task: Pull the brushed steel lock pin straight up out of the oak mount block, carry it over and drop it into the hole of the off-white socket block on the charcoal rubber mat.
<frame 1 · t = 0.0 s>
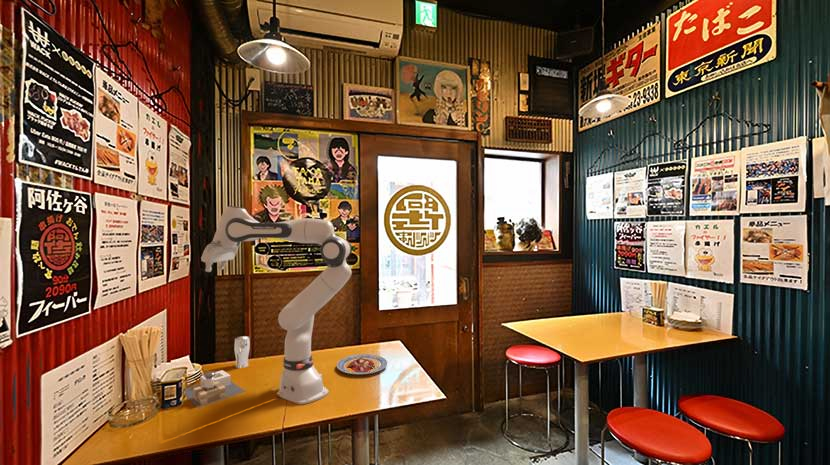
hand: (214, 270, 149), 52 cm above the table, tool tilted 20°, fingers open, 8 cm apart
mount block: (209, 392, 138), on the rubber mat, point 3 cm above the table
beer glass: (241, 367, 171), on the table
ceramic plate: (362, 367, 174), on the table
socket block: (215, 384, 150), resting on rubber mat
steel pin: (209, 385, 138), in the mount block, point 6 cm above the table, touching rubber mat
rubber mat: (212, 393, 144), on the table
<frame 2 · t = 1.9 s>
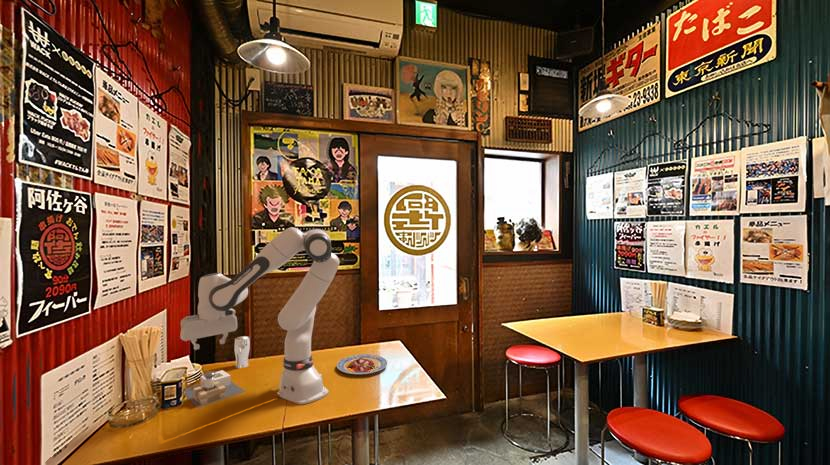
hand: (209, 346, 138), 22 cm above the table, tool pointing down, fingers open, 8 cm apart
nothing on the table moved.
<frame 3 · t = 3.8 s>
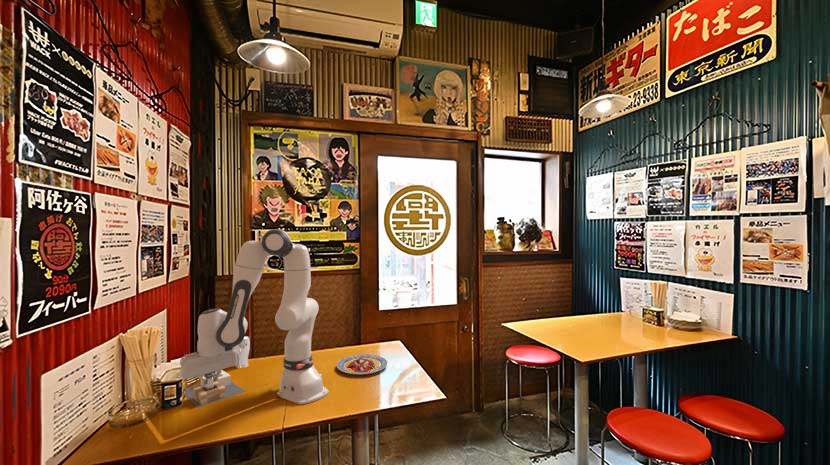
hand: (209, 382, 138), 7 cm above the table, tool pointing down, fingers closed on steel pin, 3 cm apart
steel pin: (209, 385, 138), in the mount block, point 6 cm above the table, touching gripper, rubber mat
everything else where it was.
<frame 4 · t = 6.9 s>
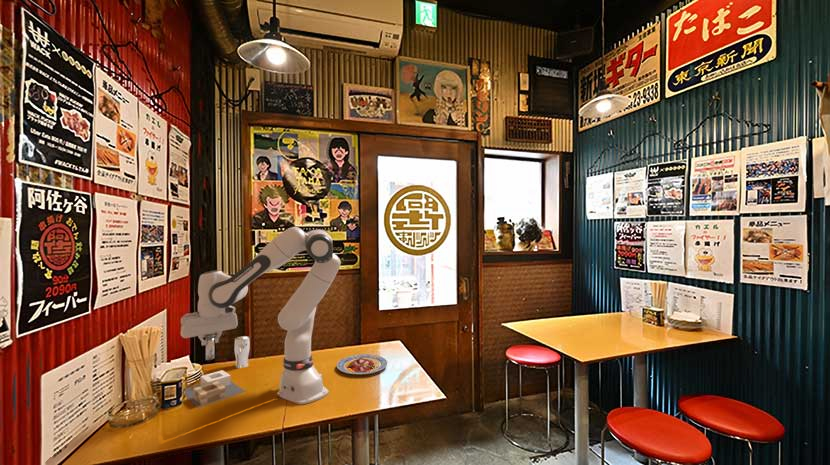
hand: (210, 343, 138), 23 cm above the table, tool pointing down, fingers closed on steel pin, 3 cm apart
steel pin: (210, 346, 138), point 22 cm above the table, touching gripper
everything else where it was.
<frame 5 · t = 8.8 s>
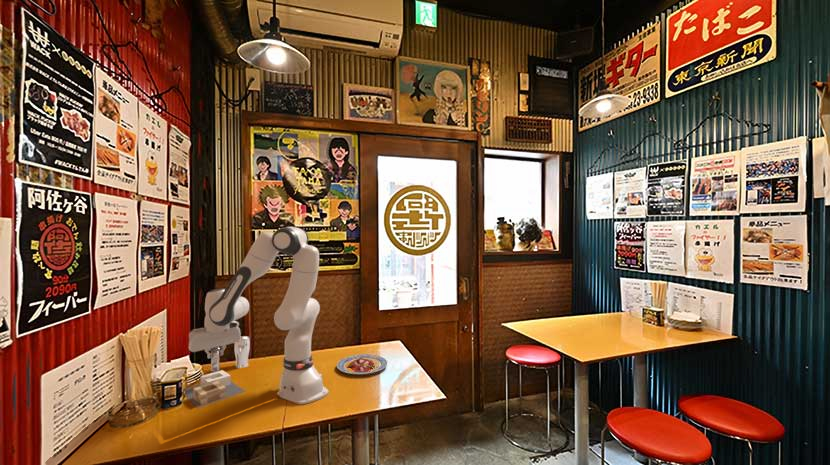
hand: (215, 356, 150), 14 cm above the table, tool pointing down, fingers closed on steel pin, 3 cm apart
steel pin: (215, 358, 150), point 12 cm above the table, touching gripper
everything else where it was.
when the fingers open (9 cm above the table, at t = 10.2 s): steel pin stays where it is, resting on rubber mat.
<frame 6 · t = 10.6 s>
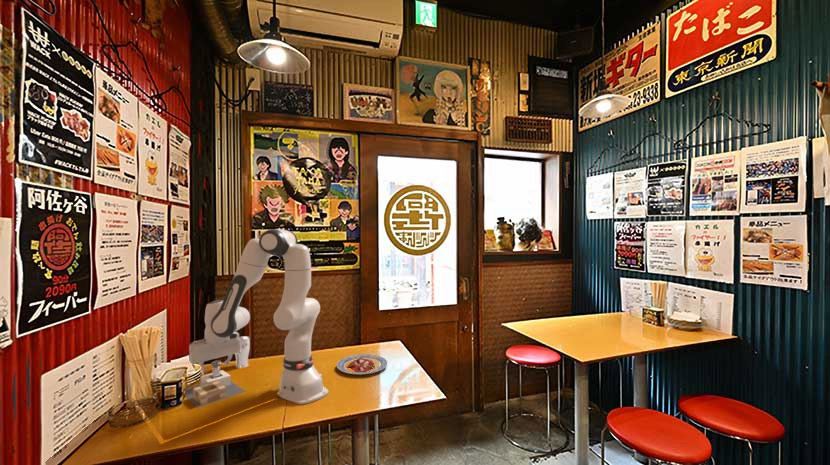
hand: (215, 367, 150), 9 cm above the table, tool pointing down, fingers open, 8 cm apart
steel pin: (216, 373, 150), in the socket block, point 6 cm above the table, touching rubber mat
everything else where it was.
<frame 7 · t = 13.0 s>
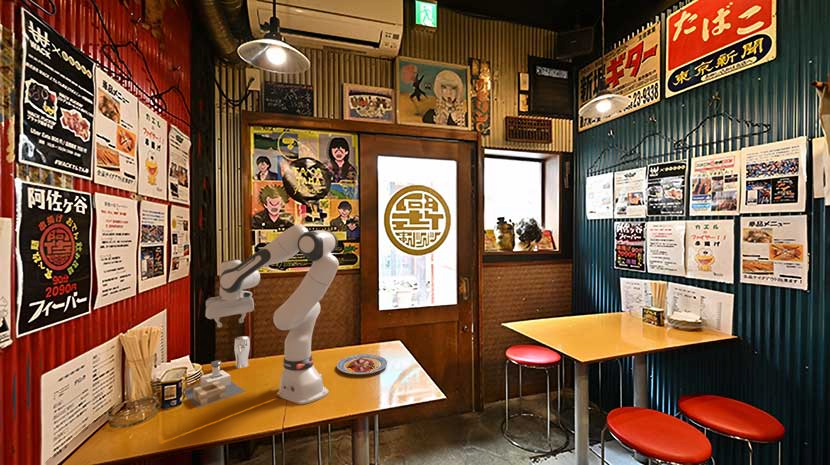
hand: (230, 324, 156), 26 cm above the table, tool pointing down, fingers open, 8 cm apart
nothing on the table moved.
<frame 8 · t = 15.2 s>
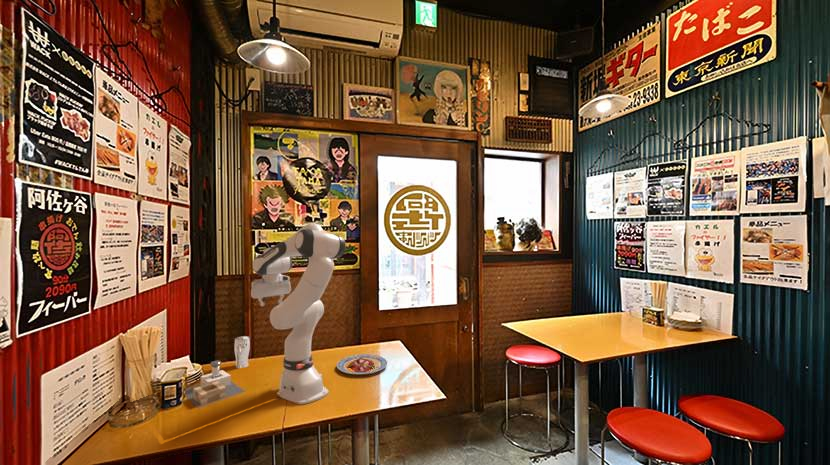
hand: (271, 304, 177), 31 cm above the table, tool pointing down, fingers open, 8 cm apart
nothing on the table moved.
at the end: steel pin 0.1 cm from the target spot, point 6.0 cm above the table; steel pin tilted 1°; the gripper is holding nothing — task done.
